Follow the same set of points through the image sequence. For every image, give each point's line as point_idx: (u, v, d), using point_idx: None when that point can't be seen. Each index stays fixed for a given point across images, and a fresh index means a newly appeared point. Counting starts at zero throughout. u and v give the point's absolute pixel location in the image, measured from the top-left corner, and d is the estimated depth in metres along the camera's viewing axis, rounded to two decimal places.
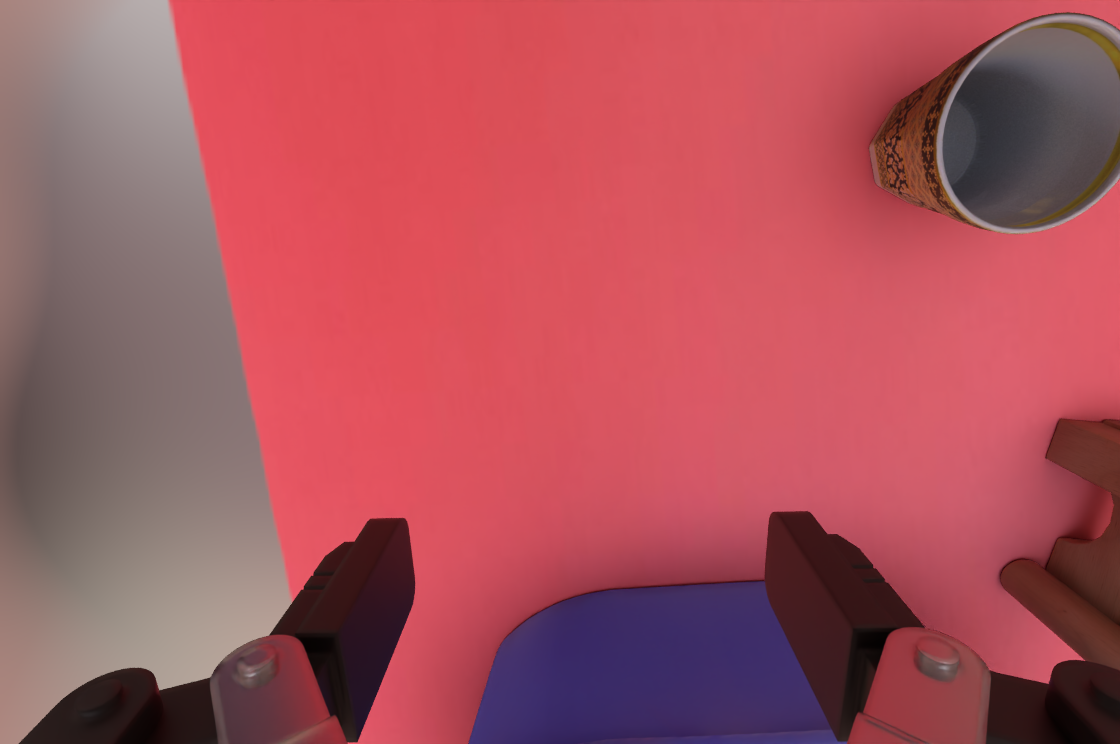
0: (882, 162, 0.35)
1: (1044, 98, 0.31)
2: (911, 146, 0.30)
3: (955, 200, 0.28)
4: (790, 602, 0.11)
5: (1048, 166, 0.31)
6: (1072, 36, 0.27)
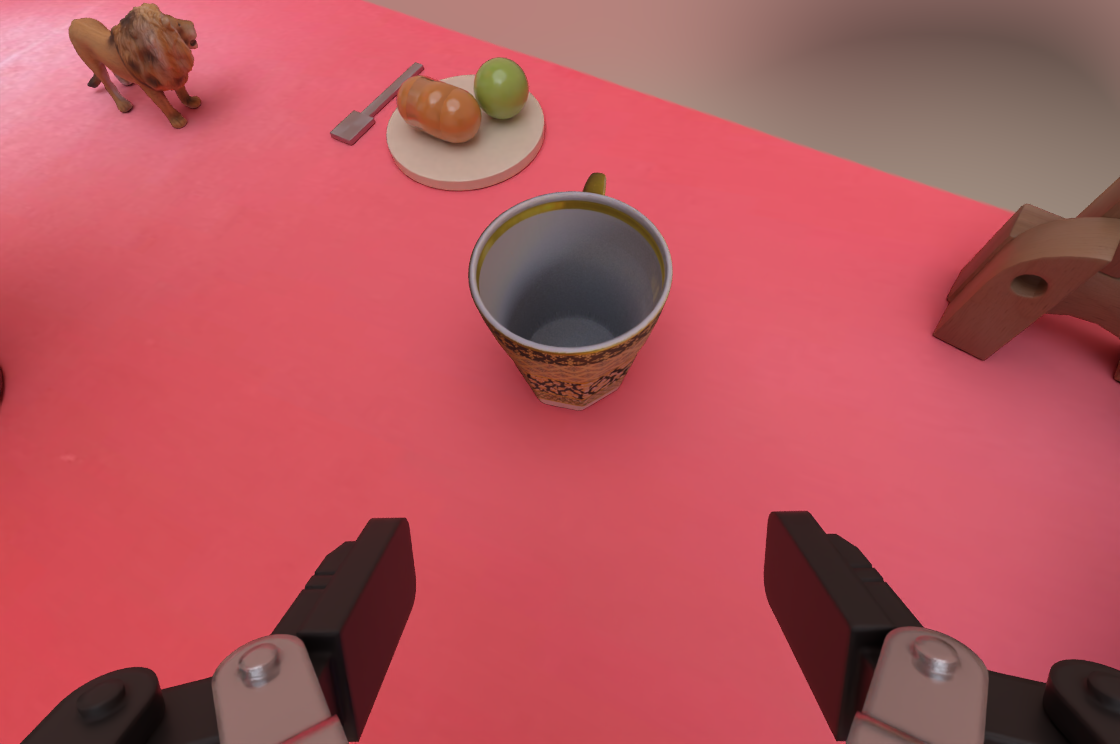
0: (556, 397, 0.33)
1: (570, 262, 0.33)
2: (531, 367, 0.28)
3: (592, 347, 0.25)
4: (789, 601, 0.11)
5: (628, 273, 0.32)
6: (516, 229, 0.30)
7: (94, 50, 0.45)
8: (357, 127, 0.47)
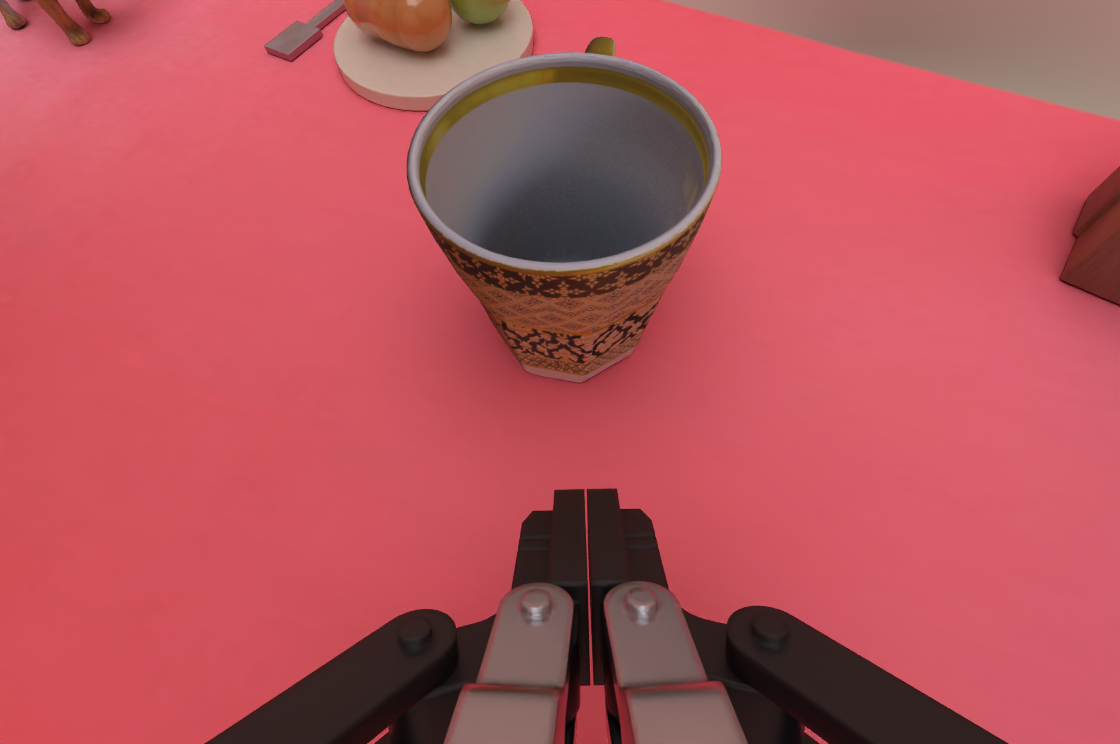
0: (546, 361, 0.23)
1: (564, 173, 0.24)
2: (505, 307, 0.18)
3: (598, 262, 0.15)
4: (589, 569, 0.12)
5: (647, 182, 0.22)
6: (485, 112, 0.21)
7: None
8: (299, 39, 0.38)
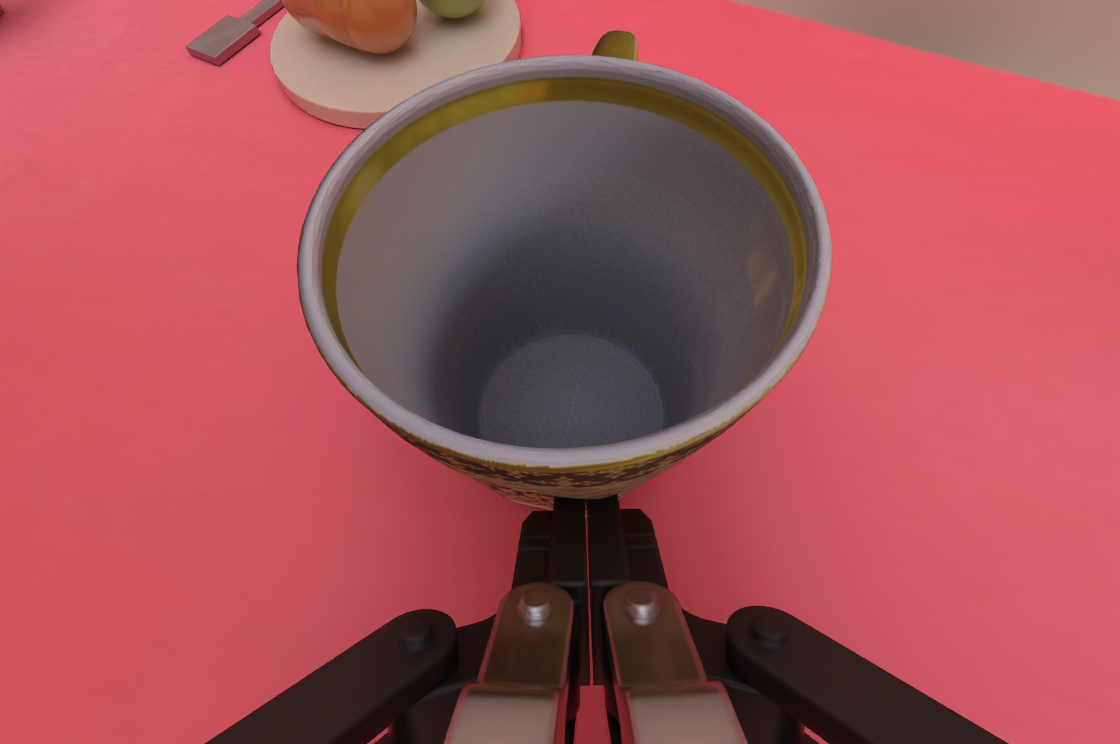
0: (538, 502, 0.16)
1: (563, 227, 0.17)
2: (468, 475, 0.11)
3: (629, 450, 0.08)
4: None
5: (685, 245, 0.15)
6: (440, 147, 0.14)
7: None
8: (229, 37, 0.30)
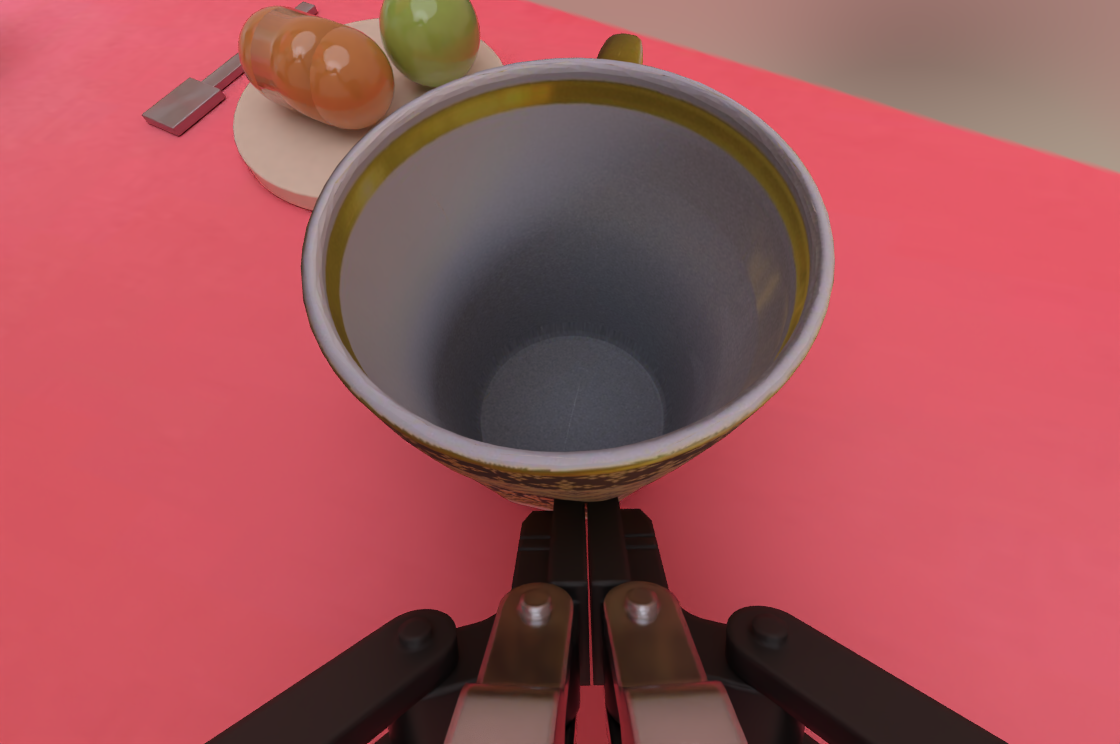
0: (539, 503, 0.16)
1: (566, 229, 0.17)
2: (470, 477, 0.11)
3: (630, 454, 0.08)
4: (589, 568, 0.12)
5: (688, 249, 0.15)
6: (445, 149, 0.14)
7: None
8: (190, 104, 0.28)
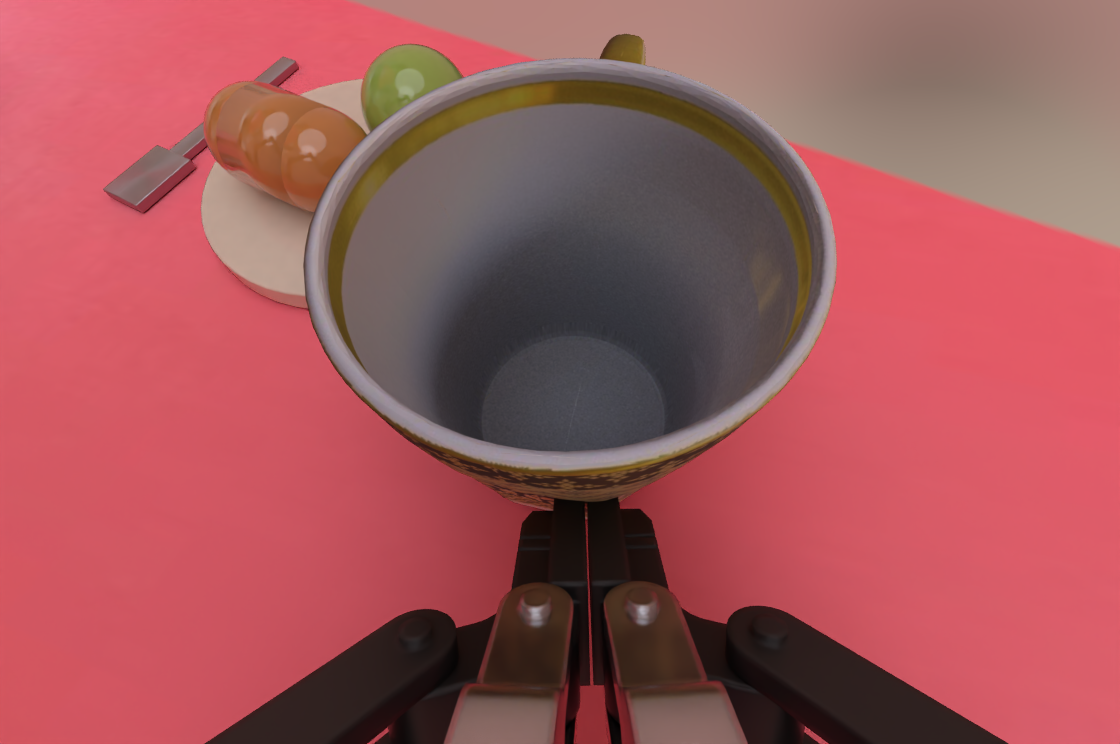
0: (539, 503, 0.16)
1: (567, 229, 0.17)
2: (471, 476, 0.11)
3: (632, 454, 0.08)
4: (589, 568, 0.12)
5: (690, 249, 0.15)
6: (447, 148, 0.14)
7: None
8: (156, 177, 0.25)
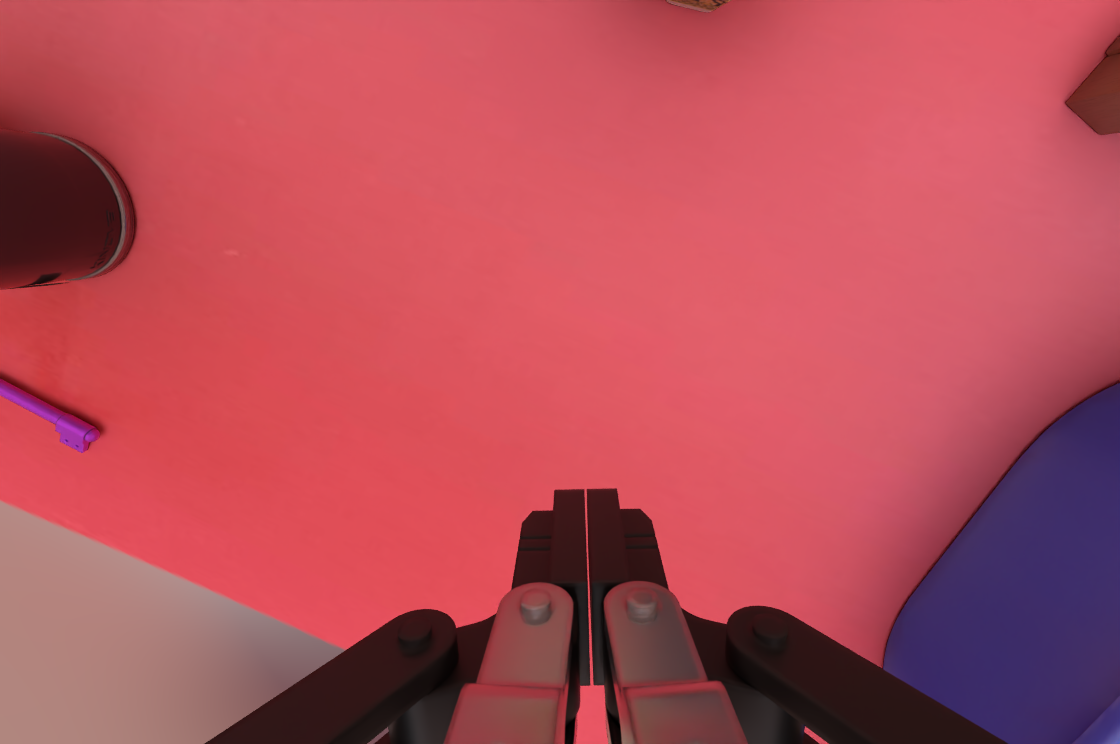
0: (690, 2, 0.32)
1: None
2: None
3: None
4: (589, 569, 0.12)
5: None
6: None
7: None
8: None
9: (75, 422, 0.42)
